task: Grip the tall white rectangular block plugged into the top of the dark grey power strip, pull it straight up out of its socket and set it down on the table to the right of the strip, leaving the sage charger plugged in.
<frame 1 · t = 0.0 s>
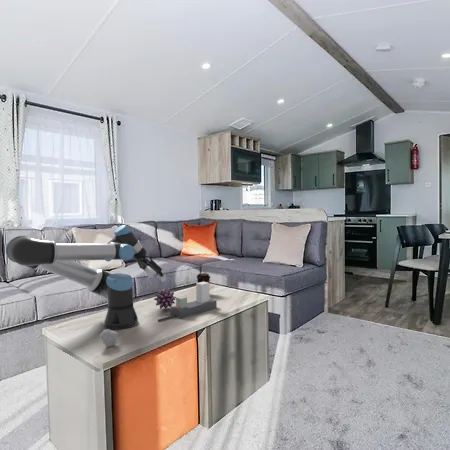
hand: (158, 278, 190), 15 cm above the table, tool tilted 35°, fingers open, 13 cm apart
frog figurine: (109, 346, 136), on the table
coffee cup: (203, 295, 211), on the table
sage charger: (181, 307, 173), resting on power strip
power strip: (194, 311, 178), on the table
flower: (165, 309, 183), on the table
white rectangular block: (203, 301, 182), point 4 cm above the table, touching power strip
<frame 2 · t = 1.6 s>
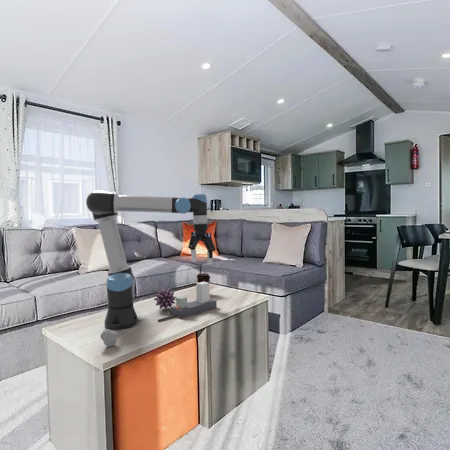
hand: (201, 263, 181), 25 cm above the table, tool pointing down, fingers open, 13 cm apart
nothing on the table moved.
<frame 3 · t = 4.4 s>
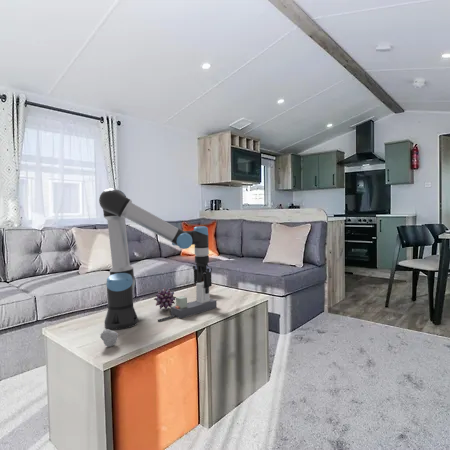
hand: (203, 298, 182), 6 cm above the table, tool pointing down, fingers closed on white rectangular block, 5 cm apart
white rectangular block: (203, 301, 182), point 4 cm above the table, touching gripper, power strip
everything else where it was.
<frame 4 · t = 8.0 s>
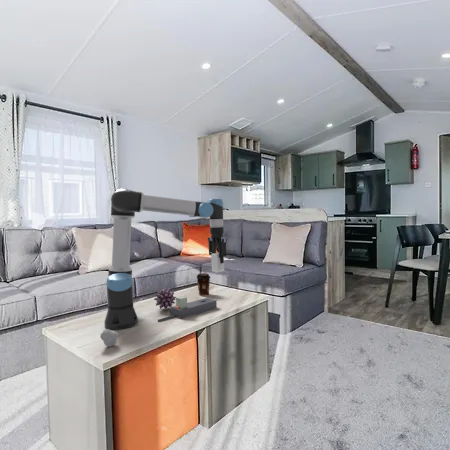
hand: (217, 268, 188), 20 cm above the table, tool pointing down, fingers closed on white rectangular block, 5 cm apart
white rectangular block: (217, 271, 189), point 19 cm above the table, touching gripper
everything else where it was.
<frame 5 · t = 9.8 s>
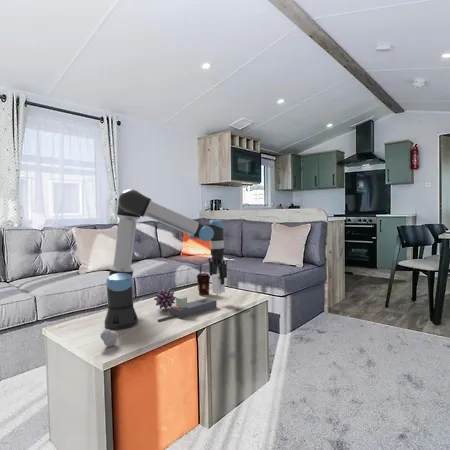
hand: (218, 289, 189), 9 cm above the table, tool pointing down, fingers closed on white rectangular block, 5 cm apart
white rectangular block: (218, 292, 189), point 7 cm above the table, touching gripper
everything else where it was.
when the fingers open (3 cm above the table, at t = 11.6 s): white rectangular block stays where it is, point 1 cm above the table.
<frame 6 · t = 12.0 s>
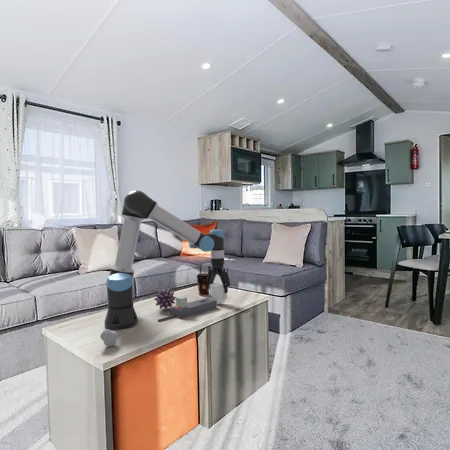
hand: (218, 296, 189), 4 cm above the table, tool pointing down, fingers open, 10 cm apart
white rectangular block: (218, 302, 190), point 1 cm above the table
everything else where it was.
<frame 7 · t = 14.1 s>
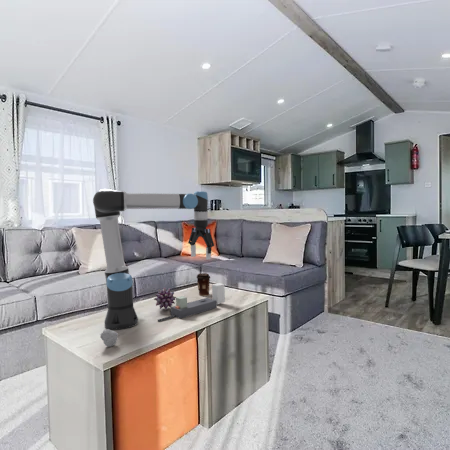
hand: (200, 258, 187), 26 cm above the table, tool pointing down, fingers open, 13 cm apart
nothing on the table moved.
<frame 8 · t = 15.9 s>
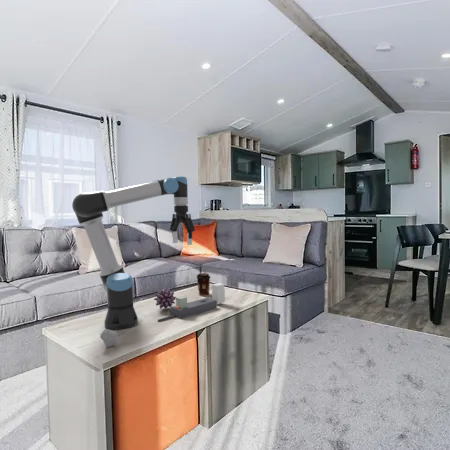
hand: (182, 243, 186), 35 cm above the table, tool pointing down, fingers open, 13 cm apart
nothing on the table moved.
at the end: white rectangular block inside the target area (0.5 cm from its centre), point 1.3 cm above the table; white rectangular block touching table; the gripper is holding nothing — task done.
